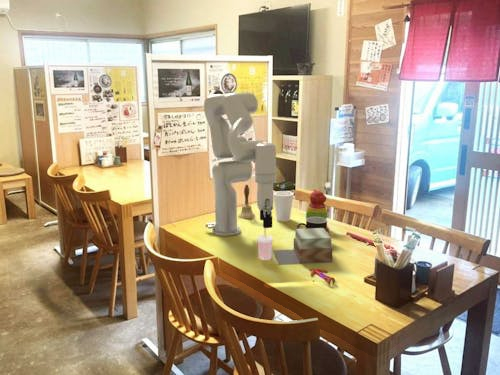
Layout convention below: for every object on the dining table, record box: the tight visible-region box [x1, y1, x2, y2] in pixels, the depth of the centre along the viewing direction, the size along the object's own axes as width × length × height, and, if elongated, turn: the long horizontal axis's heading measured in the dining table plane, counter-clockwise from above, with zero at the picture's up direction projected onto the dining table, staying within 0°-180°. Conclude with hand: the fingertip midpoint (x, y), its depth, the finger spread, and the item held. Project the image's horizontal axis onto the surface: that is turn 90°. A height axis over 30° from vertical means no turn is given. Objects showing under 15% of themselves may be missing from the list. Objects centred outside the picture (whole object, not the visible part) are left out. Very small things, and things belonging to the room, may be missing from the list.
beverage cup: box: [256, 227, 274, 261], centre depth 168 cm, size 6×6×14 cm
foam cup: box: [273, 190, 294, 223], centre depth 216 cm, size 10×9×13 cm
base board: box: [272, 248, 334, 266], centre depth 170 cm, size 20×14×1 cm
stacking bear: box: [305, 189, 330, 233], centre depth 203 cm, size 11×10×18 cm
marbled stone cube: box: [293, 228, 333, 263], centre depth 170 cm, size 12×12×9 cm
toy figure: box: [308, 267, 336, 286], centre depth 154 cm, size 8×12×3 cm
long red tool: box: [345, 231, 395, 250], centre depth 186 cm, size 24×2×5 cm
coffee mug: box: [296, 217, 328, 230], centre depth 186 cm, size 12×9×10 cm
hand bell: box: [238, 184, 256, 220], centre depth 221 cm, size 8×8×16 cm
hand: (266, 223), depth 165 cm, fingers open, 9 cm apart
